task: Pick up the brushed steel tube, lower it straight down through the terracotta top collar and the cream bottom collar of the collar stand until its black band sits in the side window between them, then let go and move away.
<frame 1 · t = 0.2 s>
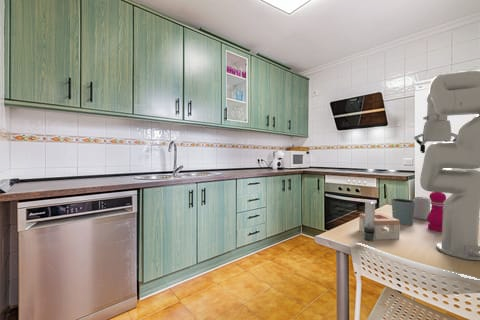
hand: (435, 153, 108), 37 cm above the table, tool pointing down, fingers open, 9 cm apart
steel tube: (369, 239, 93), on the table
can: (420, 218, 124), on the table
pepper mill: (436, 229, 106), on the table
grey teal tapered bin: (402, 222, 116), on the table
collar stand: (378, 234, 99), on the table
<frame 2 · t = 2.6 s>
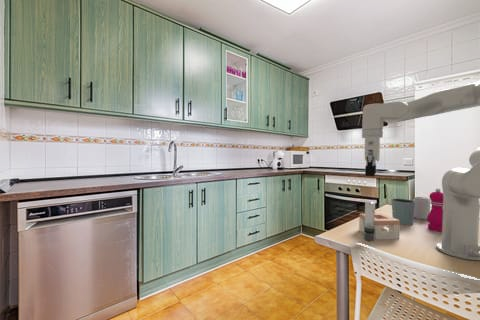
hand: (370, 174, 92), 28 cm above the table, tool pointing down, fingers open, 9 cm apart
nothing on the table moved.
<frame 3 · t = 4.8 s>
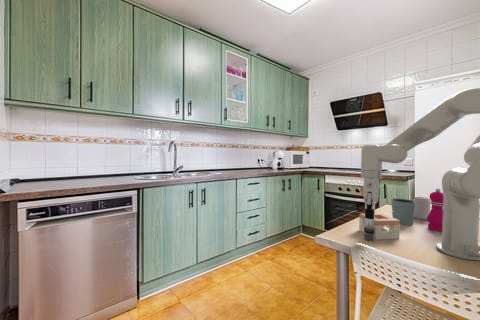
hand: (369, 217, 93), 10 cm above the table, tool pointing down, fingers closed on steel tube, 3 cm apart
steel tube: (368, 239, 93), on the table, touching gripper
everything else where it was.
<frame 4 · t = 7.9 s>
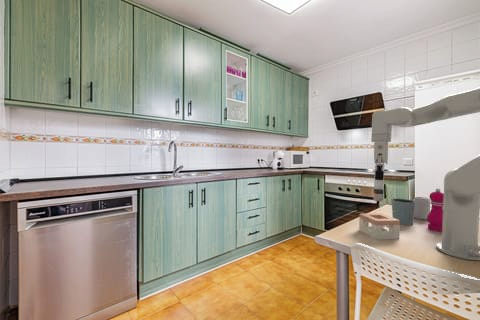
hand: (379, 179, 98), 25 cm above the table, tool pointing down, fingers closed on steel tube, 3 cm apart
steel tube: (378, 200, 99), point 15 cm above the table, touching gripper
everything else where it was.
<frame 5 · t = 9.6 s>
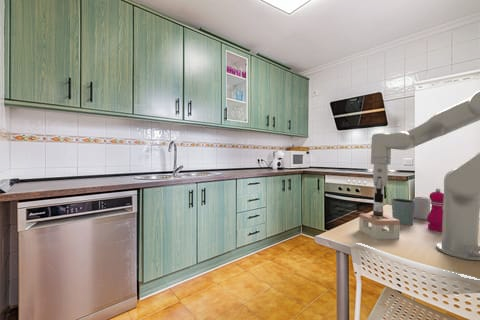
hand: (378, 200, 99), 15 cm above the table, tool pointing down, fingers closed on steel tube, 3 cm apart
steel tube: (377, 222, 99), point 5 cm above the table, touching gripper
everything else where it was.
when the fingers open (11 cm above the table, at t = 10.8 s): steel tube drops 1 cm, resting in collar stand.
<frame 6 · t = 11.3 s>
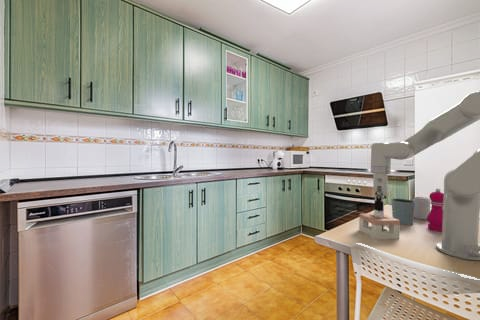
hand: (379, 208, 99), 12 cm above the table, tool pointing down, fingers open, 9 cm apart
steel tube: (378, 234, 99), resting in collar stand
everything else where it was.
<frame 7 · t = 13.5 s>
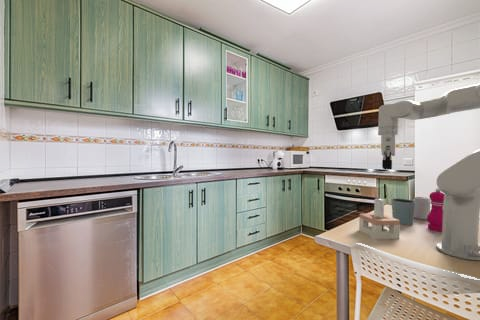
hand: (386, 168, 102), 30 cm above the table, tool pointing down, fingers open, 9 cm apart
nothing on the table moved.
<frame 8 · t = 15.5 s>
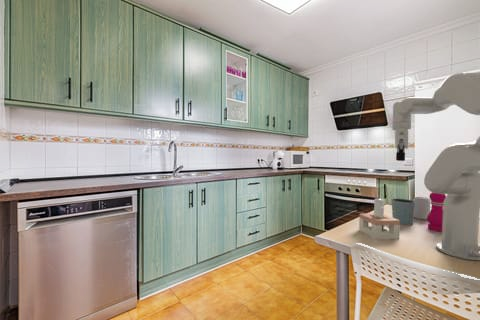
hand: (400, 160, 110), 33 cm above the table, tool pointing down, fingers open, 9 cm apart
nothing on the table moved.
at the end: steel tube 0.0 cm off-centre on the collar stand, point 0.0 cm above the collar stand's base; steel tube tilted 0°; the gripper is holding nothing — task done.
